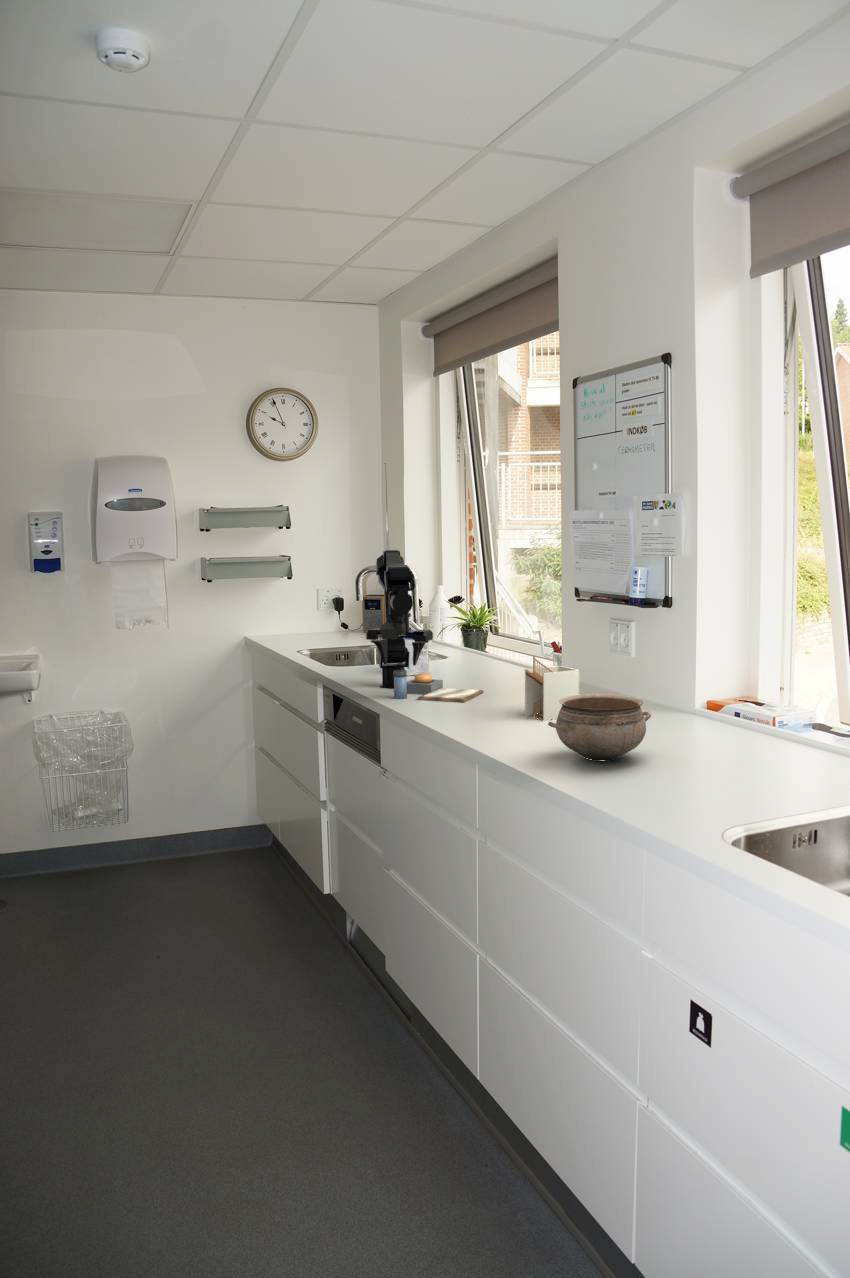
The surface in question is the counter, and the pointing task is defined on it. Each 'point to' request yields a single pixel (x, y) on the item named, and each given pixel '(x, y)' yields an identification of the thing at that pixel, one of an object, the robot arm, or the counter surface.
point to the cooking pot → (601, 725)
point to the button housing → (423, 686)
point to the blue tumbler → (400, 684)
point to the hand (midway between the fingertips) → (399, 664)
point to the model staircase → (548, 689)
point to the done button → (422, 678)
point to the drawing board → (451, 695)
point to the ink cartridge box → (423, 659)
